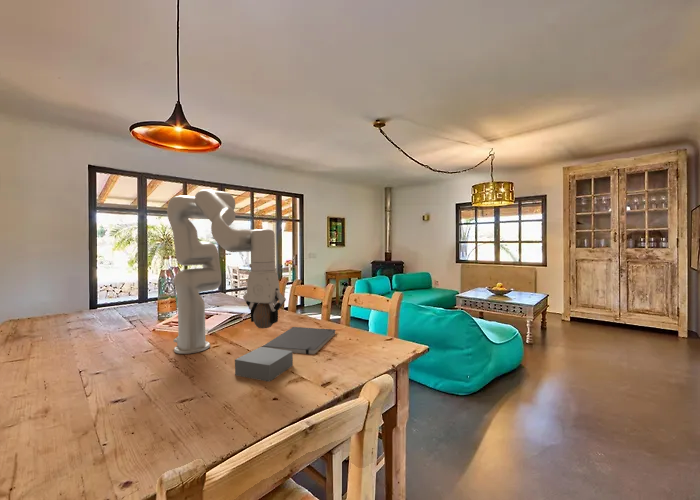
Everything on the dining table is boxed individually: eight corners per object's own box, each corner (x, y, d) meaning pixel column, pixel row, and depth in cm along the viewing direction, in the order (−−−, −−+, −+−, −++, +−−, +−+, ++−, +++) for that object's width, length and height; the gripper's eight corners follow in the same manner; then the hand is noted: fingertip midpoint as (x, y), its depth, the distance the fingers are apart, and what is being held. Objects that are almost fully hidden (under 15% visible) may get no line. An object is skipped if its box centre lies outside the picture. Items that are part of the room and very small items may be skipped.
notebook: (293, 331, 150) (262, 351, 123) (293, 326, 150) (262, 345, 122) (336, 334, 144) (314, 356, 117) (336, 329, 144) (314, 349, 117)
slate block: (235, 375, 99) (234, 359, 99) (261, 360, 112) (261, 346, 111) (269, 381, 95) (269, 365, 94) (292, 365, 107) (292, 351, 107)
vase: (269, 330, 98) (268, 302, 98) (249, 329, 100) (248, 301, 100) (278, 324, 105) (278, 298, 105) (259, 323, 107) (259, 298, 106)
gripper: (234, 267, 102) (235, 322, 102) (279, 268, 95) (280, 327, 96) (249, 266, 109) (250, 317, 109) (292, 267, 102) (293, 321, 103)
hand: (264, 321), depth 103 cm, fingers closed on vase, 6 cm apart
